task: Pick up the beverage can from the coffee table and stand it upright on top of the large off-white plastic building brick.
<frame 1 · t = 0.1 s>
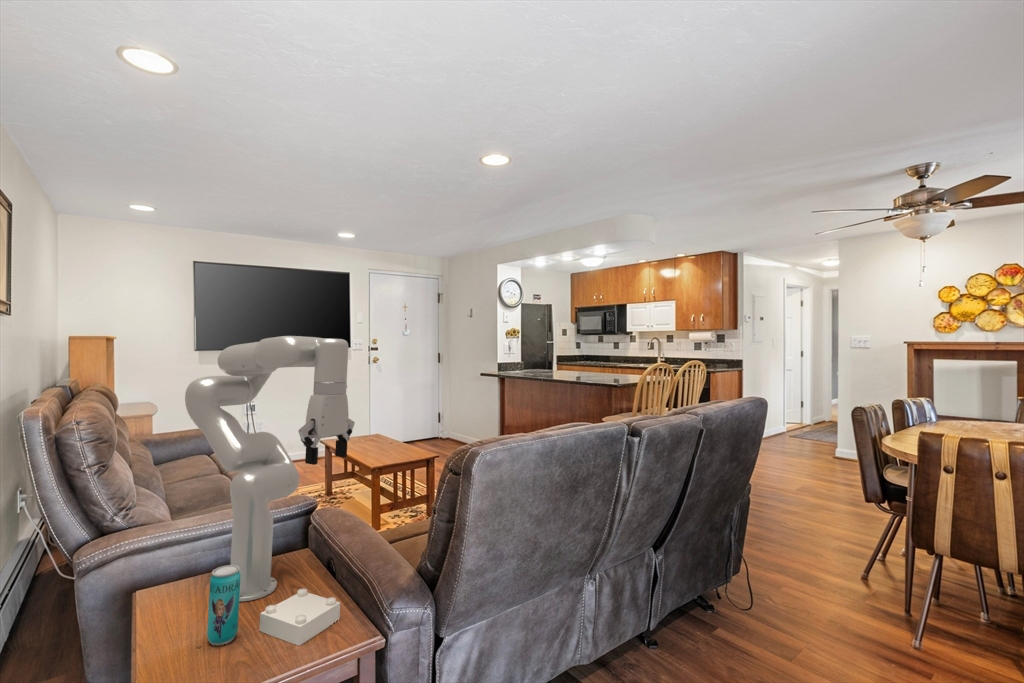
hand: (326, 460, 122), 37 cm above the table, tool pointing down, fingers open, 9 cm apart
beverage can: (222, 640, 109), on the table
brick: (300, 625, 116), on the table
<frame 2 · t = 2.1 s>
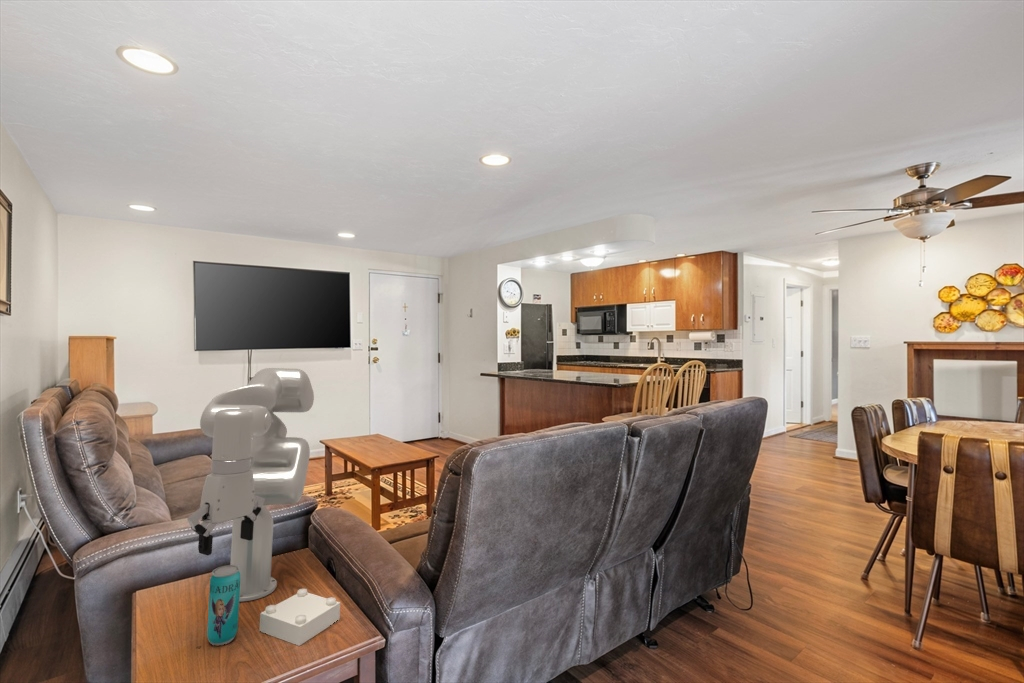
hand: (226, 546, 109), 20 cm above the table, tool pointing down, fingers open, 9 cm apart
nothing on the table moved.
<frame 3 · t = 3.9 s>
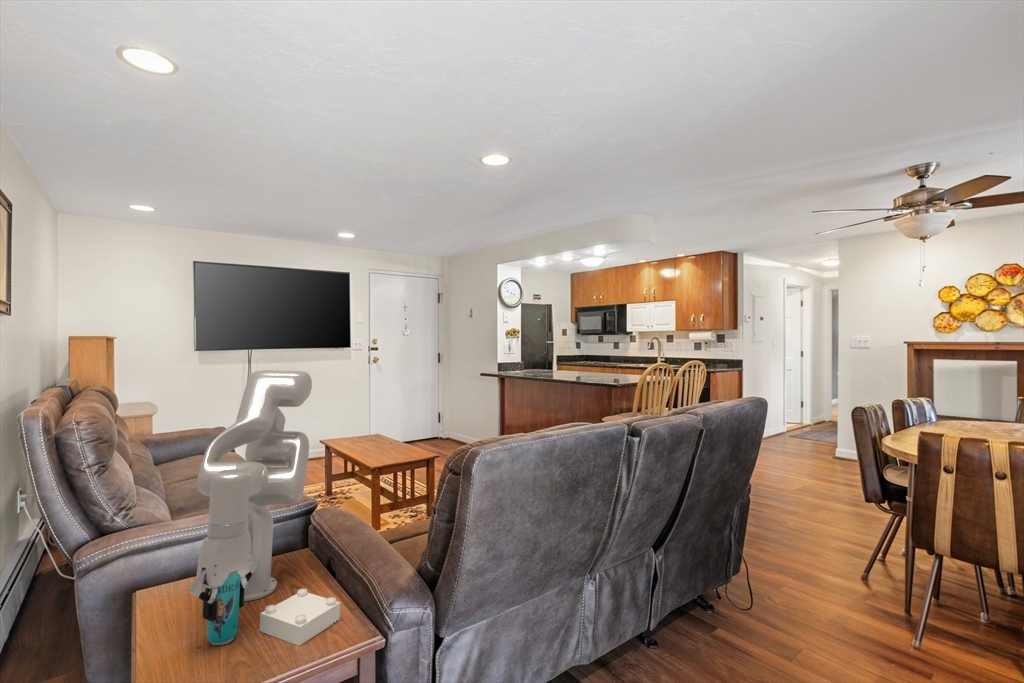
hand: (223, 611, 109), 6 cm above the table, tool pointing down, fingers closed on beverage can, 5 cm apart
beverage can: (222, 640, 109), on the table, touching gripper
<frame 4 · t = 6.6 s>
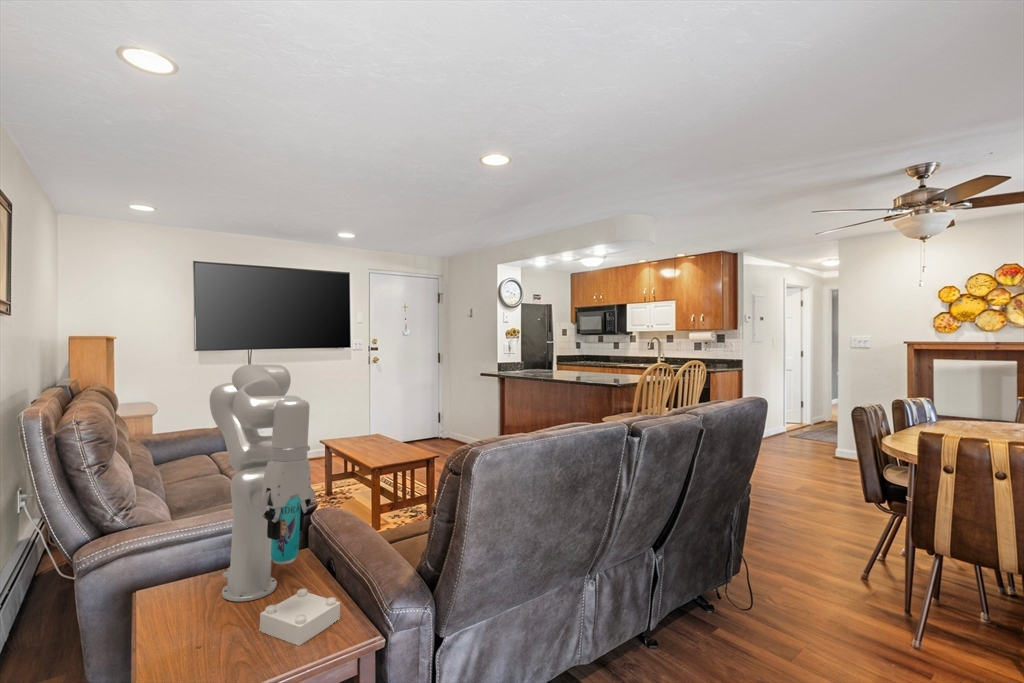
hand: (285, 533, 114), 22 cm above the table, tool pointing down, fingers closed on beverage can, 5 cm apart
beverage can: (284, 561, 114), point 15 cm above the table, touching gripper
when the fingers open (11 cm above the table, at t = 9.6 s): beverage can drops 1 cm, resting on brick.
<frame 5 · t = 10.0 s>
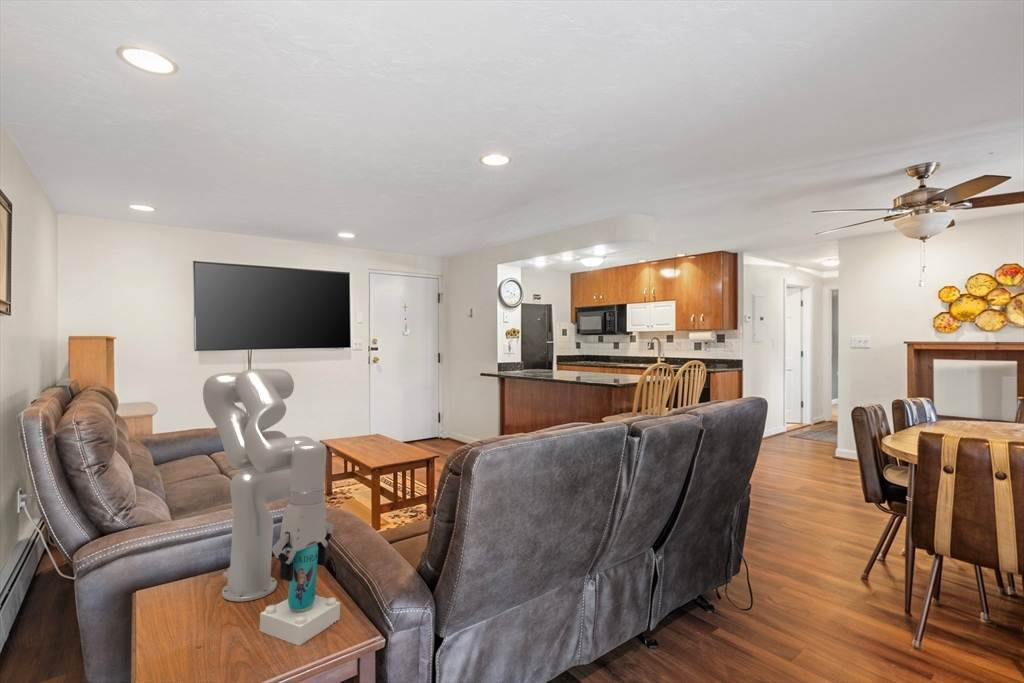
hand: (303, 571, 116), 12 cm above the table, tool pointing down, fingers open, 9 cm apart
beverage can: (300, 608, 116), point 4 cm above the table, touching brick
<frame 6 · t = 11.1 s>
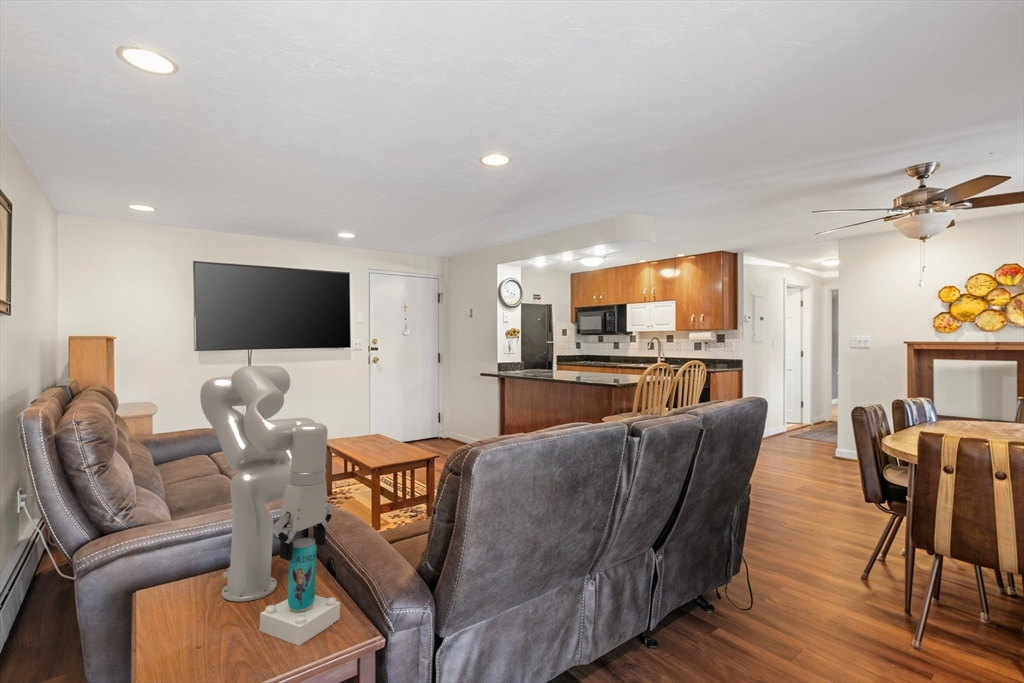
hand: (302, 551, 116), 17 cm above the table, tool pointing down, fingers open, 9 cm apart
nothing on the table moved.
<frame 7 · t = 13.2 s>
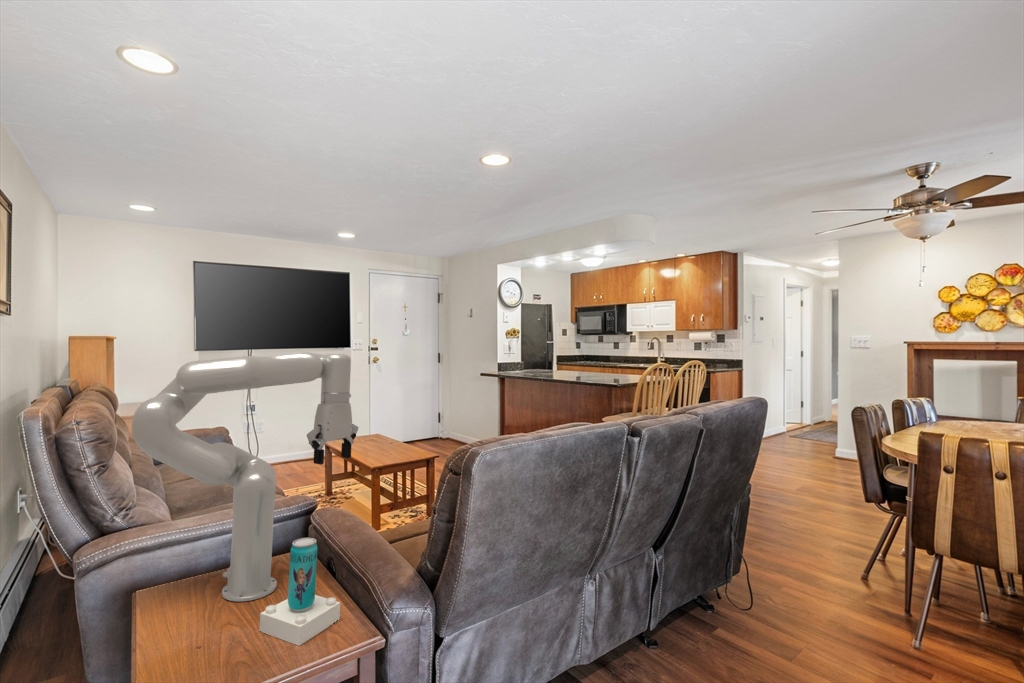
hand: (332, 460, 139), 33 cm above the table, tool pointing down, fingers open, 9 cm apart
nothing on the table moved.
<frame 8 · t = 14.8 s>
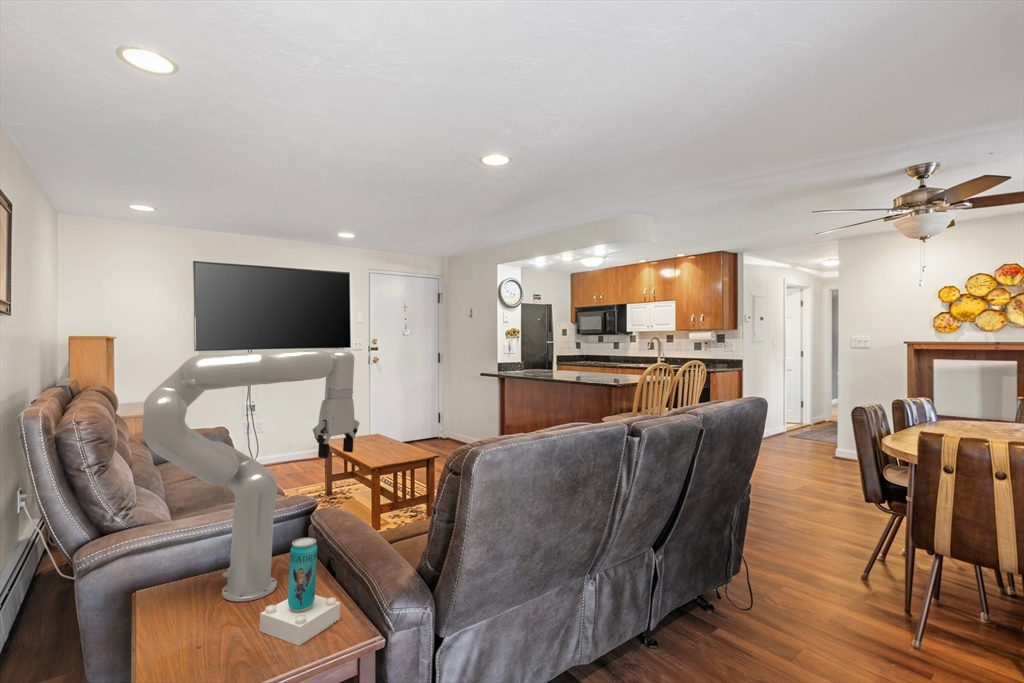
hand: (335, 454, 144), 33 cm above the table, tool pointing down, fingers open, 9 cm apart
nothing on the table moved.
at the end: beverage can 0.1 cm off-centre on the brick, point 3.8 cm above the brick's base; beverage can tilted 0°; the gripper is holding nothing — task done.
